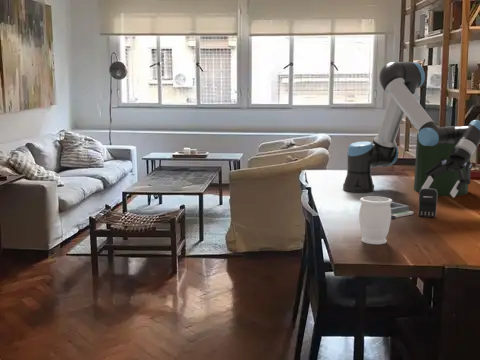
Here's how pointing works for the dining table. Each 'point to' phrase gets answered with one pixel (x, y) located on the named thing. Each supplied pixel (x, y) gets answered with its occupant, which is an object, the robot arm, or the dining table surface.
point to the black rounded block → (427, 202)
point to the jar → (375, 219)
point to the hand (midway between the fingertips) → (437, 192)
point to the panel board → (399, 210)
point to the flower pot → (428, 159)
